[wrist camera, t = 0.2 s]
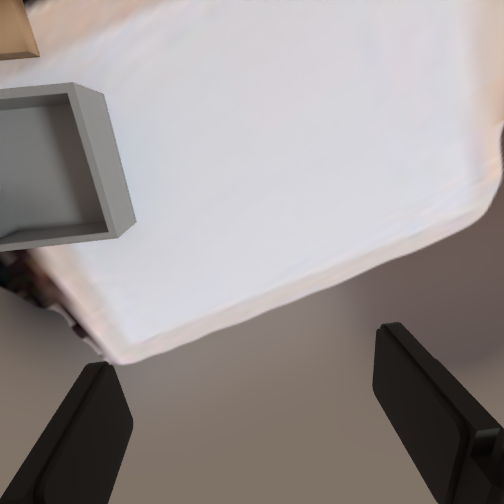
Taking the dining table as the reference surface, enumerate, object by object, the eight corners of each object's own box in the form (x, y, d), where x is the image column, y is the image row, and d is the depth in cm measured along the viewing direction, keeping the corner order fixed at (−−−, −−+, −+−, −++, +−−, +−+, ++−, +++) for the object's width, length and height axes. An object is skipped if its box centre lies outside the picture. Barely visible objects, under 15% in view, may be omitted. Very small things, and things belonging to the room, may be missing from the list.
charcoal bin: (-33, 107, 33) (-98, 98, 26) (103, 94, 33) (73, 82, 27) (20, 235, 38) (-22, 254, 32) (136, 222, 39) (117, 238, 32)
